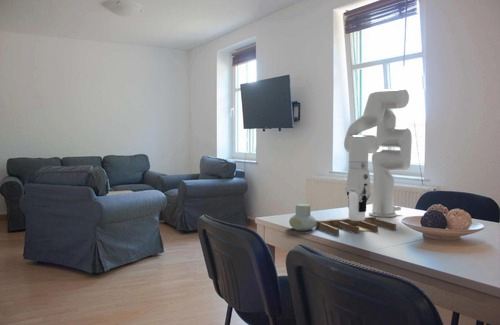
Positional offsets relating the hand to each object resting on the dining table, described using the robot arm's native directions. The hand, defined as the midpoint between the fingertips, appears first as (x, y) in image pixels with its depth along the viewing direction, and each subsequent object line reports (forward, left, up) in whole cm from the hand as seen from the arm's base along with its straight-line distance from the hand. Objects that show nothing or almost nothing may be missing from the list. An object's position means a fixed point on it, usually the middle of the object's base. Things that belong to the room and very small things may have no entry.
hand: (357, 209), depth 164 cm
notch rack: (0, 0, -8) cm, 8 cm away
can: (0, 0, -4) cm, 4 cm away
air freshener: (+21, -7, -8) cm, 24 cm away
